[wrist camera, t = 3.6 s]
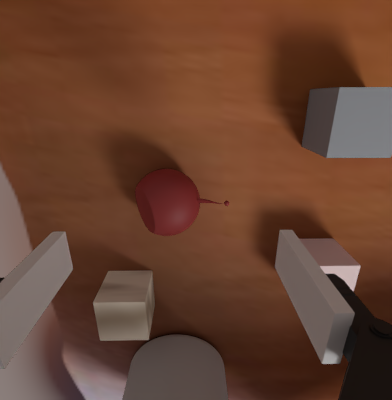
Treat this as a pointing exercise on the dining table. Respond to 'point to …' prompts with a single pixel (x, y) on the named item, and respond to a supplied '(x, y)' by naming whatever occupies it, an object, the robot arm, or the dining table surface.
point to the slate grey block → (349, 122)
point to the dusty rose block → (333, 259)
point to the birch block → (125, 305)
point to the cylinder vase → (176, 371)
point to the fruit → (168, 201)
